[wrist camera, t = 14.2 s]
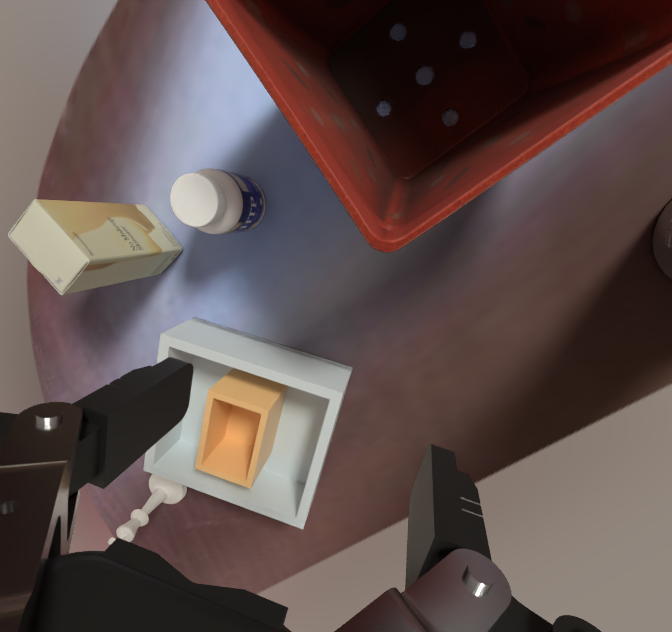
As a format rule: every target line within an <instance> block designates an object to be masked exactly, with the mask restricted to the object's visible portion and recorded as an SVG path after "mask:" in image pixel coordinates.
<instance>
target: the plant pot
mask: <svg viewBox="0 0 672 632" xmlns="http://www.w3.org/2000/svg"><path fill="white" fill-rule="evenodd" d="M205 1H206V2H207V4H208V5H209V7H210V8H211V9H212V11H213V12H214V14H215V15H216V17H217V18H218V20H219V21H220V22H221V24H222V25H223V27H224V28H225V30H226V31H227V33H228V34H229V36H230V37H231V39H232V40H233V41H234V43H235V44H236V46H237V47H238V49H239V50H240V52H241V53H242V55H243V56H244V58H245V59H246V60H247V62H248V63H249V65H250V66H251V68H252V69H253V71H254V72H255V74H256V75H257V77H258V78H259V80H260V81H261V83H262V84H263V86H264V87H265V89H266V90H267V92H268V93H269V95H270V96H271V98H272V99H273V100H274V102H275V103H276V105H277V106H278V108H279V109H280V111H281V112H282V114H283V115H284V117H285V118H286V120H287V121H288V123H289V124H290V126H291V127H292V129H293V130H294V132H295V133H296V135H297V136H298V138H299V139H300V141H301V142H302V144H303V145H304V147H305V148H306V150H307V151H308V153H309V154H310V156H311V157H312V159H313V160H314V162H315V163H316V165H317V166H318V168H319V169H320V171H321V172H322V174H323V175H324V177H325V178H326V180H327V181H328V183H329V185H330V186H331V188H332V189H333V191H334V192H335V194H336V195H337V197H338V198H339V200H340V201H341V203H342V204H343V206H344V207H345V209H346V210H347V212H348V213H349V215H350V217H351V218H352V220H353V221H354V223H355V224H356V226H357V227H358V229H359V230H360V232H361V233H362V235H363V236H364V238H365V240H366V241H367V242H368V244H369V245H370V246H371V247H373V248H374V249H376V250H378V251H381V252H386V253H390V252H394V251H397V250H399V249H401V248H402V247H404V246H405V245H407V244H408V243H410V242H411V241H413V240H414V239H416V238H417V237H419V236H420V235H422V234H423V233H425V232H426V231H428V230H429V229H430V228H432V227H433V226H435V225H436V224H438V223H439V222H441V221H442V220H444V219H445V218H447V217H448V216H450V215H451V214H452V213H454V212H455V211H457V210H458V209H460V208H461V207H463V206H464V205H465V204H467V203H468V202H470V201H471V200H473V199H474V198H475V197H477V196H478V195H480V194H481V193H483V192H484V191H486V190H487V189H488V188H490V187H491V186H493V185H494V184H496V183H497V182H499V181H500V180H501V179H503V178H504V177H506V176H507V175H509V174H510V173H512V172H513V171H515V170H516V169H518V168H519V167H520V166H522V165H523V164H525V163H526V162H528V161H529V160H531V159H532V158H534V157H535V156H537V155H538V154H539V153H541V152H542V151H544V150H545V149H547V148H548V147H550V146H551V145H553V144H554V143H556V142H557V141H558V140H560V139H561V138H563V137H564V136H566V135H567V134H568V133H570V132H571V131H573V130H574V129H576V128H577V127H579V126H580V125H582V124H583V123H585V122H586V121H588V120H589V119H591V118H592V117H594V116H595V115H597V114H598V113H600V112H601V111H603V110H604V109H605V108H607V107H608V106H610V105H611V104H613V103H614V102H616V101H617V100H619V99H620V98H622V97H623V96H625V95H626V94H627V93H629V92H630V91H632V90H633V89H635V88H636V87H638V86H639V85H641V84H642V83H644V82H645V81H647V80H648V79H650V78H651V77H653V76H654V75H656V74H657V73H659V72H660V71H662V70H663V69H665V68H666V67H668V66H669V65H671V64H672V0H205ZM396 23H403V24H404V25H405V26H406V29H407V32H406V35H405V37H404V39H402V40H400V41H397V40H393V39H392V38H391V37H390V30H391V27H392V26H393V25H394V24H396ZM467 30H472V31H474V32H475V33H476V35H477V43H476V45H475V46H474V47H472V48H468V49H467V48H466V49H463V48H462V47H461V46H460V44H459V38H460V36H461V34H462V33H463V32H465V31H467ZM425 64H427V65H430V66H432V68H433V69H434V73H435V75H434V79H433V81H432V82H431V83H430V84H428V85H420V84H418V83H417V81H416V80H415V73H416V70H417V69H418V68H419V67H420V66H421V65H425ZM382 99H388V100H389V101H391V103H392V111H391V113H390V114H389V115H388V116H385V117H383V116H380V115H379V114H378V113H377V109H376V107H377V104H378V103H379V101H380V100H382ZM449 108H453V109H455V110H457V111H458V114H459V119H458V122H457V123H456V124H455V125H454V126H446V125H444V123H443V121H442V114H443V113H444V112H445V111H446V110H447V109H449Z"/></svg>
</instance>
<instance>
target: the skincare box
mask: <svg viewBox="0 0 672 632" xmlns="http://www.w3.org/2000/svg"><path fill="white" fill-rule="evenodd" d="M8 237H9V238H10V240H11V241H12V242H13V243H14V244H15V245H16V246H17V247H18V248H19V249H20V250H21V252H22V253H23V254H24V255H25V256H26V257H27V258H28V260H29V261H30V262H31V264H32V265H33V266H34V267H35V268H36V269H37V270H38V271H39V272H40V273H41V274H42V275H43V276H44V277H45V278H46V279H47V280H48V281H49V282H50V284H51V285H52V286H53V287H54V288H55V289H56V290H57V291H58V292H59V294H60V295H65V294H69V293H74V292H79V291H84V290H88V289H93V288H98V287H102V286H107V285H112V284H116V283H121V282H126V281H130V280H135V279H140V278H145V277H149V276H154V275H159V274H161V273H162V272H163V271H164V270H165V269H166V268H167V267H168V266H169V265H170V264H171V263H172V262H173V261H174V259H175V258H176V257H177V256H178V255H179V254H180V253H181V251H182V250H183V248H182V247H181V246H180V244H179V243H178V242H177V241H176V240H175V238H174V237H173V236H172V235H171V234H170V232H169V231H168V230H167V229H166V228H165V227H164V225H163V224H162V223H161V222H160V221H159V220H158V219H157V218H156V217H155V215H154V214H153V213H152V212H151V211H150V210H149V209H148V208H147V207H146V206H145V205H141V204H119V203H99V202H78V201H58V200H38V199H35V200H33V201H32V203H31V204H30V205H29V207H28V208H27V209H26V210H25V212H24V213H23V214H22V216H21V217H20V218H19V220H18V221H17V222H16V223H15V225H14V226H13V228H12V229H11V230H10V232H9V233H8Z"/></svg>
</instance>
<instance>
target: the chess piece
mask: <svg viewBox="0 0 672 632" xmlns="http://www.w3.org/2000/svg"><path fill="white" fill-rule="evenodd" d="M149 488H150V491H151V493H152V495H151V497H150V498H149V499H148V501H147V502H146V504H145V505H144V506H143V508H142V509H141V510H140V509H136V510H134V511H133V512H132V514H131V520H130V521H128V522H127V523H125V524H123V525H121V526H120V527H119V528H118V529H117V536H118V538H121V539H123V540H125V541H128V542H131V541H132V540H133V539H134V537H135V534H136V532H137V530H138V528H139V526H144V525H146V524H147V523H148V521H149V518H148V515H149V514H150V513H151V512H152V511H153V510H154V509H155V508H156V507H157V506H158V505H159V504H160V503H162V502H163V503H166V504H175V503H178V502H179V501H180V500H181V499H183V498H184V496H185V495H186V492H187V486H184V485H182V484H179V483H176V482H174V481H171V480H168V479H165V478H163V477H160V476H157V475H155V474H152V476H151V477H150V479H149ZM115 540H116V539H115V538H113V537H111V538H110V539H109V541H108V544H110V545H111V544H112V543H113V542H114V541H115Z"/></svg>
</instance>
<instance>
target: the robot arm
mask: <svg viewBox="0 0 672 632" xmlns="http://www.w3.org/2000/svg"><path fill="white" fill-rule="evenodd" d="M653 252H654V256H655V258H656V261H657V264H658V265H659V267H660V268H661V269H662V271H663V272H664V273H665V274H666V275H667V276H668V277H670V278H671V279H672V200H671V201H670V203H669V204H668V205H667V206H666V207H665V209H664V210H663V212H662V214H661V215H660V217H659V219H658V221H657V224H656V227H655V229H654V235H653ZM193 370H194V369H193V365H192V364H191V363H188V362H185V361H182V360H179V359H176V358H173V357H168V358H166V359H165V360H163V361H161V362H159V363H158V364H156V365H154V366H153V367H152V366H147V367H143V368H139V369H135V370H132V371H131V372H129V373H127V374H125V375H123V376H122V377H121V378H120V379H116V380H114V381H113V382H111V383H110V384H109V385H108V384H107V385H105V386H104V387H102V388H100V389H98V390H96V391H95V392H93V393H91V394H89V395H87V396H86V397H84V398H82V399H80V400H78V401H77V402H75V403H73V404H71V403H67V402H47V403H42V404H37V405H34V406H32V407H29V408H27V409H25V410H23V411H22V412H20V413H19V414H11V413H2V412H0V632H291V631H290V630H289V629H287V628H286V627H285V626H284V621H285V617H286V614H287V610H288V608H287V607H285V606H283V605H280V604H278V603H275V602H273V601H271V600H268V599H266V598H263V597H261V596H259V595H256V594H254V593H251V592H249V591H246V590H244V589H236V588H228V587H220V586H212V585H204V584H197V583H193V582H191V581H190V580H188V579H187V578H186V577H185V576H184V575H182V574H181V573H180V572H179V571H178V570H176V569H175V568H174V567H173V566H172V565H170V564H169V563H168V562H167V561H166V560H164V559H163V558H162V557H161V556H160V555H158V554H157V553H154V552H152V551H150V550H147V549H145V548H142V547H140V546H138V545H135V544H133V543H130V542H128V541H125V540H123V539H121V538H118V537H117V539H116V540H115V541H114V542H113V543H112V544H111V545H110V546H109V547H108V548H107V549H106V550H105V551H85V552H75V553H69V549H70V544H71V539H72V534H73V528H74V523H75V518H76V513H77V508H78V502H79V497H80V488H82V487H83V486H84V485H85V484H87V483H90V484H93V485H95V486H98V487H100V488H103V489H104V488H105V487H106V486H108V485H109V484H110V483H111V482H112V481H113V480H114V479H116V478H117V477H118V476H119V475H120V474H121V473H122V472H124V471H125V470H126V469H127V468H128V467H129V466H130V465H132V464H133V463H134V462H135V461H136V460H137V459H138V458H140V457H141V456H142V455H143V454H144V453H145V452H146V451H148V450H149V449H150V448H151V447H152V446H153V445H154V444H156V443H157V442H158V441H159V440H160V439H161V438H162V437H164V436H165V435H166V434H167V433H168V432H169V431H170V430H172V429H173V428H174V427H175V426H176V425H177V424H178V423H179V422H180V421H181V420H182V419H183V418H184V416H185V414H186V412H187V410H188V407H189V401H190V394H191V386H192V379H193ZM482 515H483V514H482V510H481V506H480V499H479V494H478V489H477V488H476V486H475V484H474V483H473V481H472V480H471V478H470V477H469V475H468V474H465V473H463V472H460V471H457V468H456V460H455V453H454V452H453V451H450V450H447V449H444V448H441V447H438V446H435V445H432V444H429V445H428V447H427V449H426V452H425V455H424V457H423V460H422V463H421V465H420V468H419V471H418V473H417V476H416V479H415V482H414V484H413V488H412V491H411V496H410V502H409V519H408V542H407V564H406V585H405V587H406V588H405V591H404V592H402V593H400V592H399V591H398V590H397V588H391V589H389V590H387V591H386V592H384V593H383V594H382V595H380V597H378V598H377V599H376V600H374V601H373V602H372V603H370V604H369V605H368V606H367V607H365V608H364V609H363V610H361V611H360V612H359V613H358V614H356V615H355V616H354V617H352V618H351V619H350V620H349V621H348V622H346V623H345V624H343V625H342V626H341V627H340V628H338V629H337V630H336V631H335V632H601V631H600V630H599V629H597V628H596V627H595V626H593V625H592V624H590V623H588V622H587V621H585V620H583V619H580V618H578V617H575V616H570V615H564V616H560V617H559V618H557V619H556V621H555V622H554V624H553V625H552V624H550V623H549V622H547V621H546V620H544V619H543V618H541V617H540V616H538V615H537V614H535V613H534V612H532V611H531V610H529V609H528V608H526V607H525V606H524V605H522V604H521V603H520V602H518V601H517V600H516V599H515V598H514V597H513V596H512V595H511V589H510V586H509V583H508V581H507V579H506V577H505V576H504V574H503V573H502V571H501V570H500V569H499V568H498V567H497V566H496V565H495V564H494V563H493V562H492V560H491V555H490V550H489V545H488V540H487V535H486V530H485V525H484V520H483V518H482Z"/></svg>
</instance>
